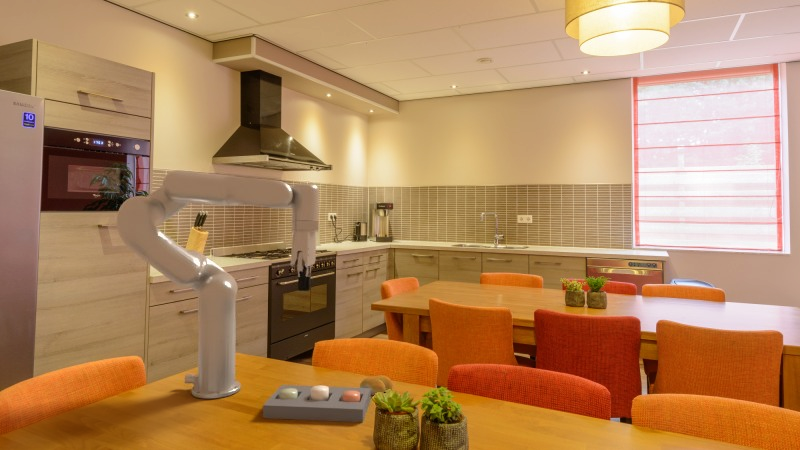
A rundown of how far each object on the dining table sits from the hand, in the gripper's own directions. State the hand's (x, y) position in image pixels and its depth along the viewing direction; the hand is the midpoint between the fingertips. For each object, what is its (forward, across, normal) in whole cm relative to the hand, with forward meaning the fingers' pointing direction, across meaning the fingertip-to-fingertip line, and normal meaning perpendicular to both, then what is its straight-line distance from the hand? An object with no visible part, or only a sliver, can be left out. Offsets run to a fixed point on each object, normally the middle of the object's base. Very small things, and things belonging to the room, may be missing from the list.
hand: (304, 290), depth 134 cm
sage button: (+27, +17, +1) cm, 32 cm away
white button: (+26, +17, +9) cm, 32 cm away
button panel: (+27, +17, +9) cm, 33 cm away
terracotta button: (+27, +17, +17) cm, 36 cm away
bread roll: (+28, +2, +22) cm, 35 cm away
